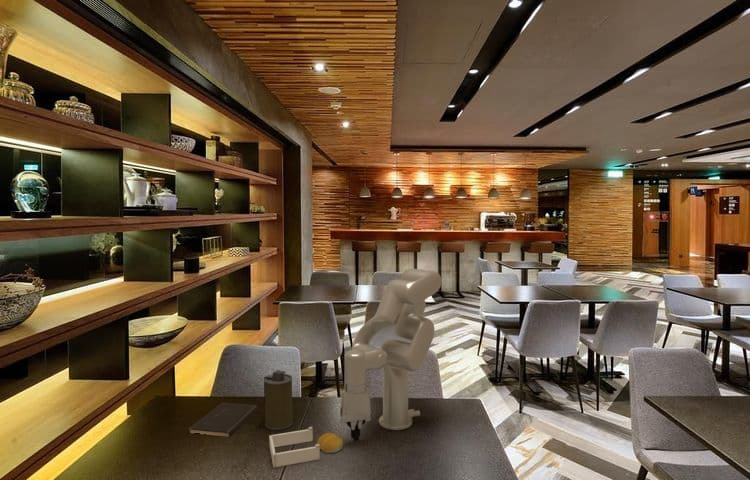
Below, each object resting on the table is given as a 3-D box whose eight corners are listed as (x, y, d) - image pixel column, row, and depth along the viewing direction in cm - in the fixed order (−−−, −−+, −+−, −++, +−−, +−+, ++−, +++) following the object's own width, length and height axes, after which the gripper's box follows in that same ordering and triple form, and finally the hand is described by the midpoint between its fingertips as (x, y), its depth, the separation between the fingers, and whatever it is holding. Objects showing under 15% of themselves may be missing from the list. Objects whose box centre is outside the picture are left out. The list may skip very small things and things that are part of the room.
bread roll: (328, 457, 143) (328, 445, 142) (313, 446, 149) (313, 434, 149) (348, 448, 148) (348, 436, 148) (333, 438, 155) (333, 427, 155)
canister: (298, 419, 169) (297, 368, 168) (284, 432, 159) (283, 377, 158) (273, 415, 173) (272, 365, 172) (258, 427, 163) (257, 374, 162)
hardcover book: (188, 434, 159) (188, 428, 158) (222, 407, 181) (222, 402, 181) (229, 438, 156) (229, 432, 155) (258, 410, 178) (258, 405, 178)
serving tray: (312, 439, 154) (312, 426, 153) (319, 459, 141) (319, 445, 141) (269, 446, 149) (269, 433, 149) (273, 467, 136) (273, 453, 136)
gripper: (372, 380, 157) (372, 430, 157) (331, 385, 152) (332, 437, 153) (379, 388, 149) (379, 440, 150) (337, 393, 145) (337, 448, 145)
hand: (355, 438), depth 151 cm, fingers closed
